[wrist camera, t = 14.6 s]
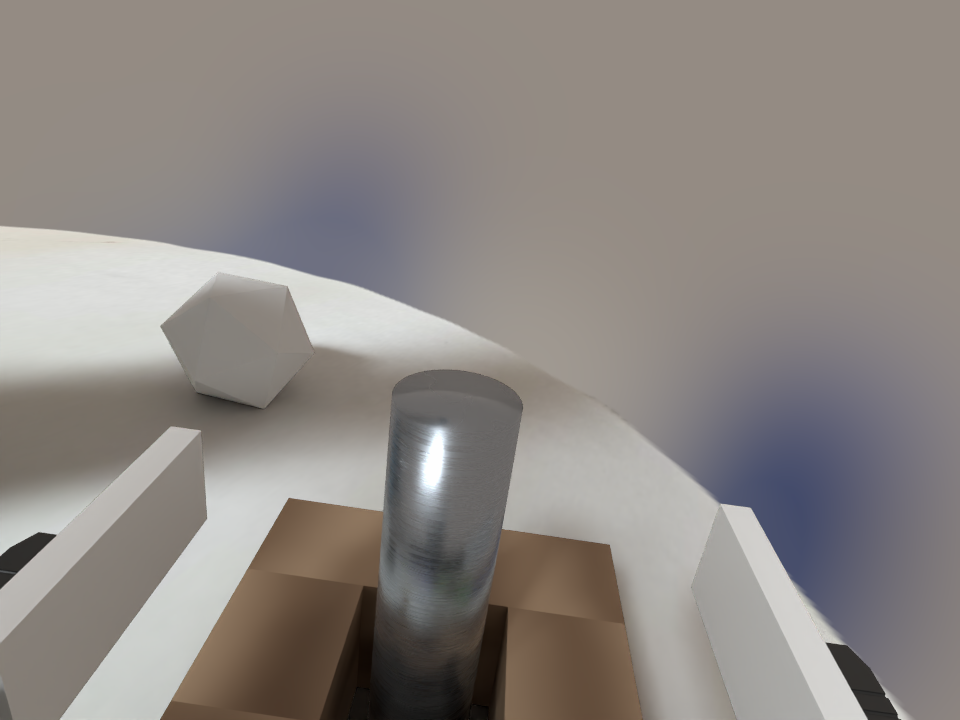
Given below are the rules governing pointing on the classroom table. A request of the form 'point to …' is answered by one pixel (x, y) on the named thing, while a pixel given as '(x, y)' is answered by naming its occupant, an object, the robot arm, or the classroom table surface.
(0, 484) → the classroom table surface
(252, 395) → the die
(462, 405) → the long metal pin
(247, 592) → the hole block
